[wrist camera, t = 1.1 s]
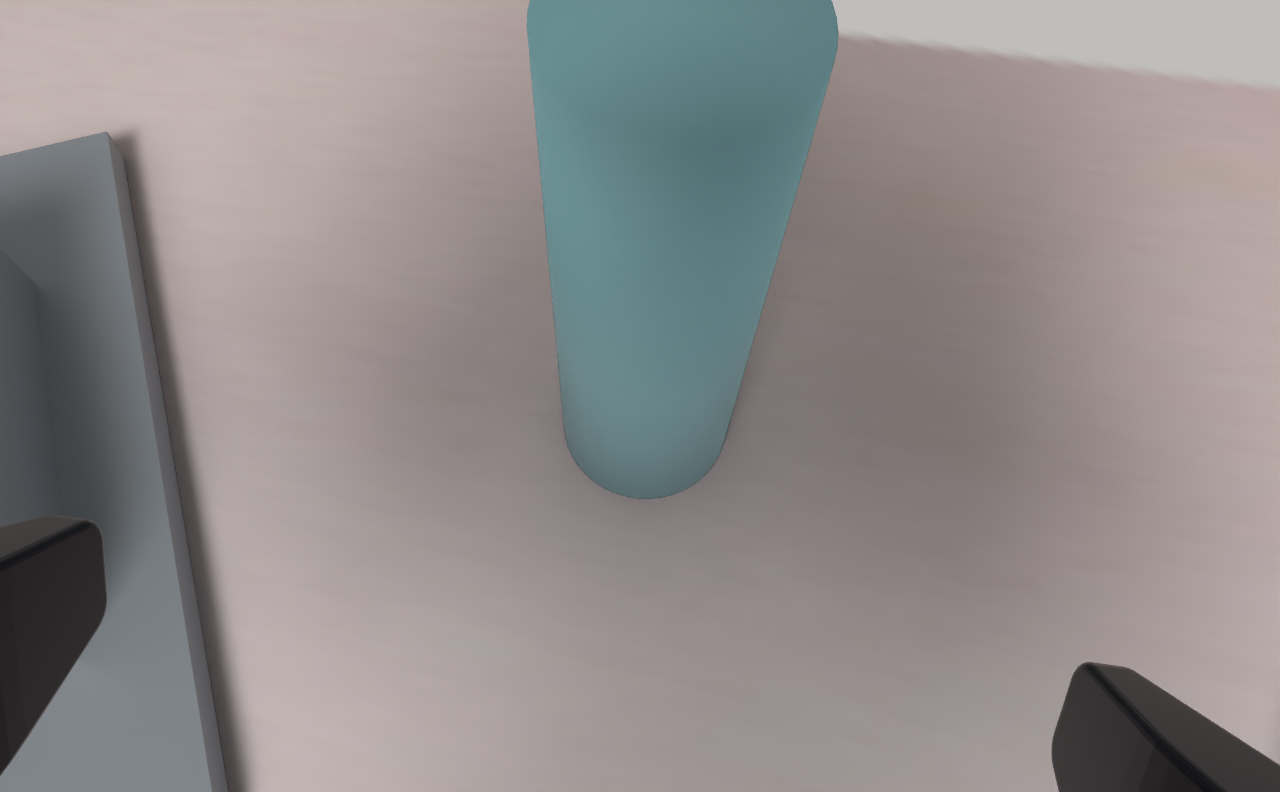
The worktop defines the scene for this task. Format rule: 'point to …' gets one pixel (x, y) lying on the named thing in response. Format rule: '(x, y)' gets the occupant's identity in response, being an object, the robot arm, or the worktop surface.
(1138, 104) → the worktop surface
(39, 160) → the socket holder
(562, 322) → the peg
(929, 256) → the worktop surface
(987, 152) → the worktop surface
